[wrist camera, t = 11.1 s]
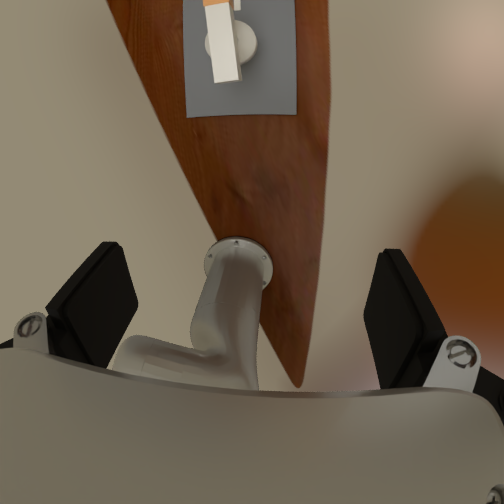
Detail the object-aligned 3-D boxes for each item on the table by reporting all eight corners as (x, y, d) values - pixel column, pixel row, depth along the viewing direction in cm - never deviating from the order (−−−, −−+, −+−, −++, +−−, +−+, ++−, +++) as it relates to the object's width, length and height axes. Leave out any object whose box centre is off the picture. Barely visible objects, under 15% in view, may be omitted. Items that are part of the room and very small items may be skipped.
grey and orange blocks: (205, 11, 27) (185, -9, 19) (252, 4, 26) (244, -20, 19) (215, 87, 33) (196, 86, 25) (262, 81, 32) (257, 77, 24)
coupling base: (295, 114, 39) (298, 117, 34) (189, 116, 41) (177, 120, 36) (293, -6, 29) (295, -20, 24) (186, 1, 30) (173, -10, 25)
